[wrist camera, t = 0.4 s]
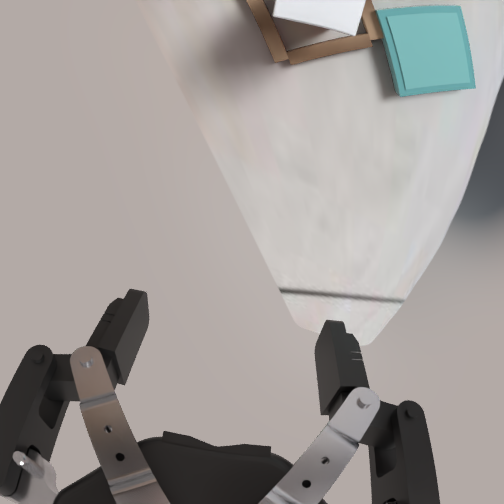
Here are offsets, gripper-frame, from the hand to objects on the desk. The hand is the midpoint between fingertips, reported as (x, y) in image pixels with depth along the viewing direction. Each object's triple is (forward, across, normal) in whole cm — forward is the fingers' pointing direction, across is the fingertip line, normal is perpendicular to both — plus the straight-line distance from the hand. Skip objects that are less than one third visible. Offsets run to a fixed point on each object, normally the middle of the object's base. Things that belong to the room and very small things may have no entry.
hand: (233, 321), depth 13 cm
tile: (+22, -16, -19) cm, 33 cm away
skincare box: (+23, -3, -20) cm, 31 cm away
